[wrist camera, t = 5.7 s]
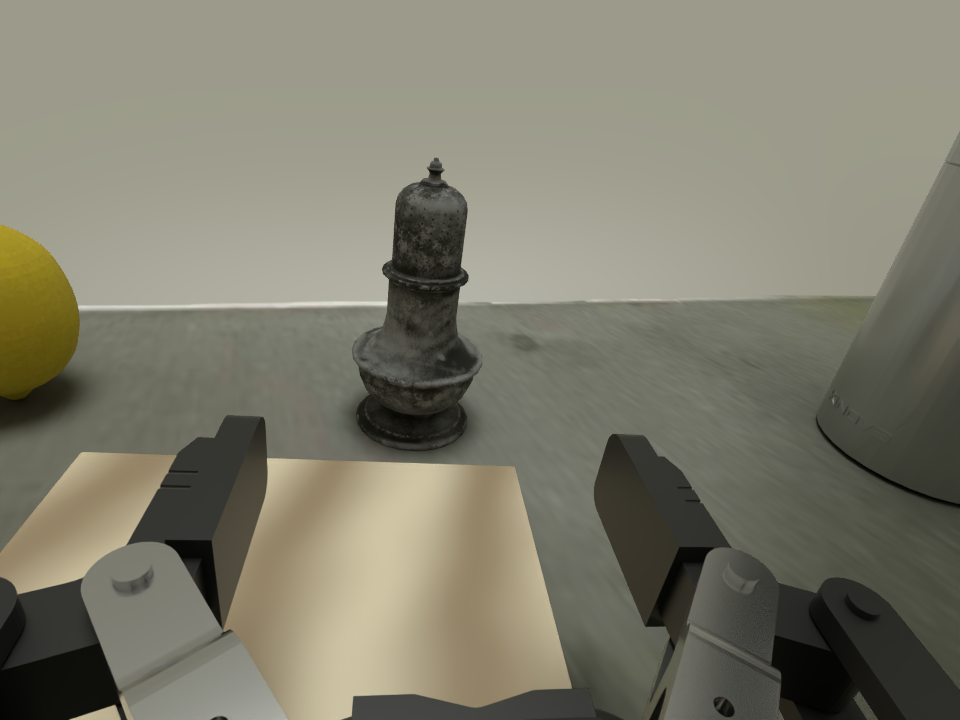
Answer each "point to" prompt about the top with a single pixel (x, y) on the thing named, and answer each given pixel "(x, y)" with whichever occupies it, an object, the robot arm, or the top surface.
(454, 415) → the salt shaker
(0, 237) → the lemon
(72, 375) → the top surface
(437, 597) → the birch board
